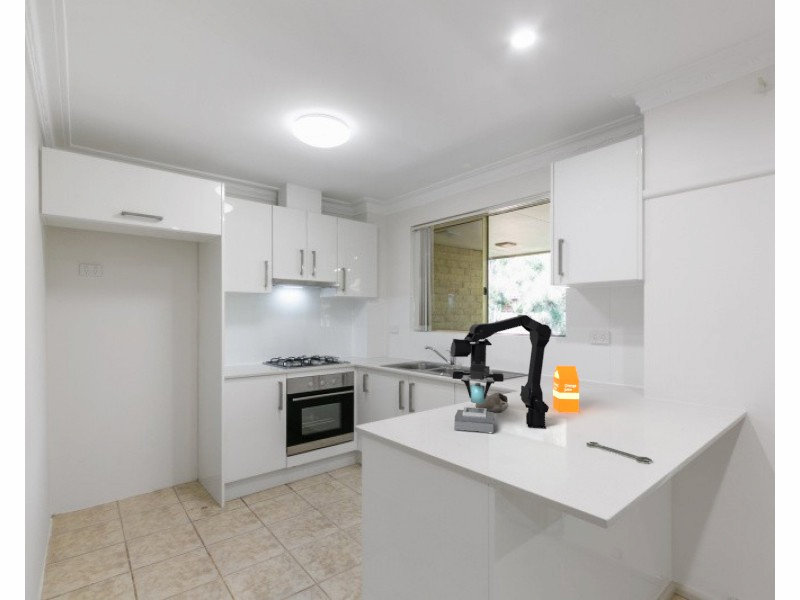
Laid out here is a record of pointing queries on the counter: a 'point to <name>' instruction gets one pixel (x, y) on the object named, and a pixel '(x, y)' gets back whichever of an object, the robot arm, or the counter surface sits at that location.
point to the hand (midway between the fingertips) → (477, 398)
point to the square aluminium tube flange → (474, 420)
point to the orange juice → (566, 389)
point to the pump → (477, 393)
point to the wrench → (620, 453)
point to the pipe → (494, 402)
